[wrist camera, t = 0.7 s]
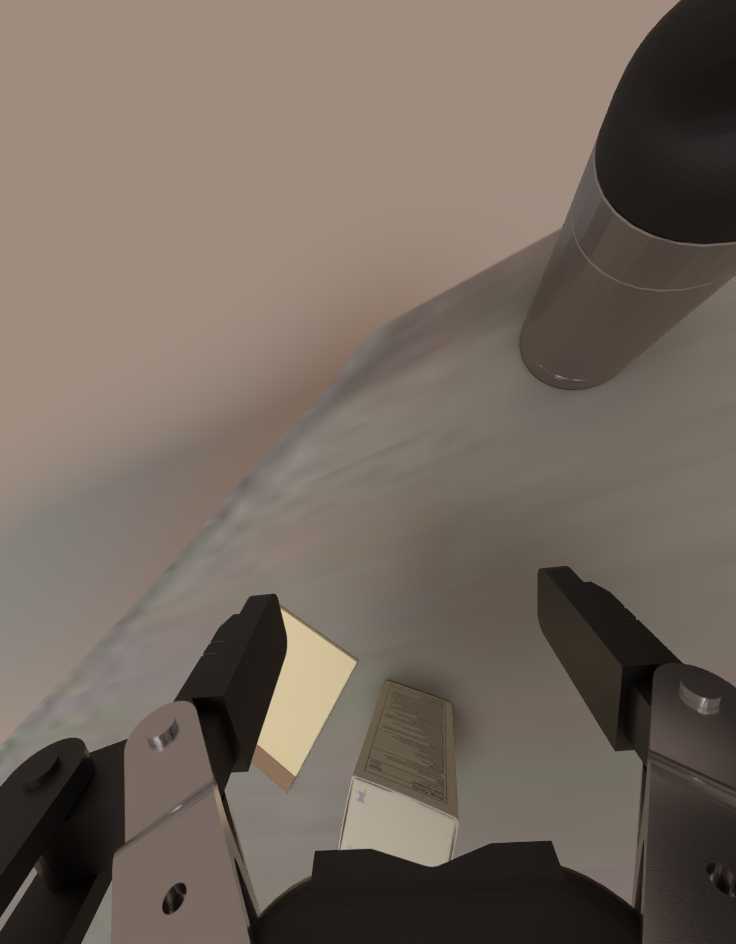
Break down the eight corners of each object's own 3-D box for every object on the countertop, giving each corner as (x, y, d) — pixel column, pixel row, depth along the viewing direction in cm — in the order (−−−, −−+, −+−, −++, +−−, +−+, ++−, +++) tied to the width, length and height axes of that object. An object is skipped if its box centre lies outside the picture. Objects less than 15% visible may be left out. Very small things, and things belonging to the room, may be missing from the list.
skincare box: (375, 726, 31) (331, 854, 20) (386, 676, 32) (348, 772, 20) (445, 753, 30) (443, 910, 18) (456, 700, 30) (460, 821, 18)
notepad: (265, 595, 35) (263, 596, 35) (357, 660, 32) (356, 662, 32) (202, 714, 35) (199, 716, 35) (289, 788, 32) (287, 792, 32)
